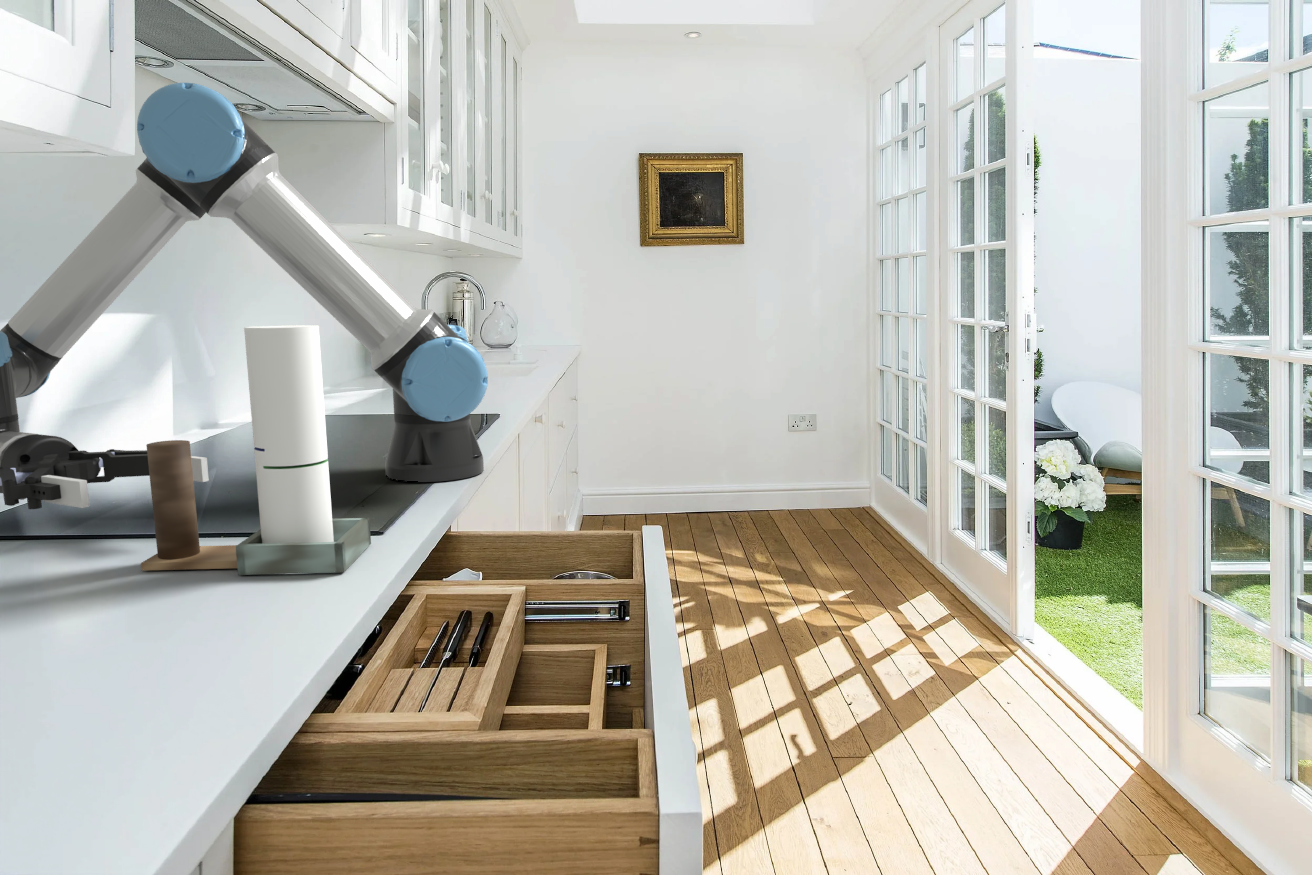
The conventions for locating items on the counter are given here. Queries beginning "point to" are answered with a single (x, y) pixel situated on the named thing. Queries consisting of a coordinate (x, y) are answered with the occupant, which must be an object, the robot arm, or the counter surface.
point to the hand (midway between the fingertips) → (148, 481)
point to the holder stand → (250, 556)
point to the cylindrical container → (289, 433)
